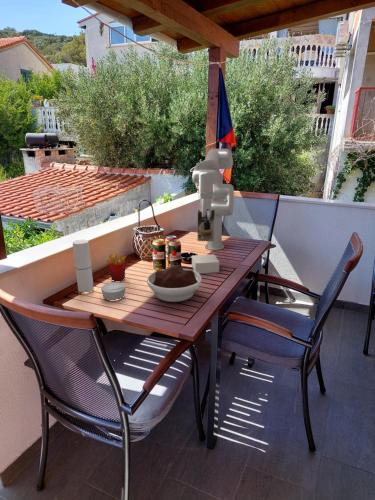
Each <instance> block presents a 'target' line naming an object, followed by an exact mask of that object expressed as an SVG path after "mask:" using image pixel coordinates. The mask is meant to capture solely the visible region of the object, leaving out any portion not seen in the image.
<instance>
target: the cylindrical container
mask: <svg viewBox="0 0 375 500" xmlns="http://www.w3.org/2000/svg"><path fill="white" fill-rule="evenodd" d="M89 242H90V241H89V239H78V240H74V241H72V249H73V259H74V265H75V273H76V280H77V281H76V282H77V291H79V292H90V291H92V290H93V289H94V280H93V279H94V278H93V270H92V262H91V252H90V243H89ZM94 290H95V289H94ZM79 292H78V293H79Z"/></svg>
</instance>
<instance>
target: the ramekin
mask: <svg viewBox="0 0 375 500" xmlns="http://www.w3.org/2000/svg"><path fill="white" fill-rule="evenodd" d="M126 288H127V287H126V284H124V283H123V282H113V281H112V282H108V283H106V284H102V286H101V288H100V291H101V293H102V296H103V299H104V298H105V299H108V300H116V299H120V298H122V297H123V296H124V295H126ZM124 297H125V296H124ZM124 297H123V298H124ZM123 298H122V299H123ZM105 299H104V300H105Z"/></svg>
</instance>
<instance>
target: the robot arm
mask: <svg viewBox="0 0 375 500" xmlns="http://www.w3.org/2000/svg"><path fill="white" fill-rule="evenodd" d="M233 165H234V158H233V154H232V151H231V150H230V149H228V148H211V149H210V150H208V152H207V154H206V157H205V160H202V161H201V162H198V163H197V164H196V165H195V166H194V168H193V170H192V175H191V180H192V182H193V183H194V184H198V199H199V210H200V211H201V212H202V217H204V219H205V222H204V230H210V217H211V210H214V211H215V212H214V241H206V242H207V244H205V245H204V248H205V249H206V250H210V251H219V250H223V249H224V248H225V247H224V246H225V245H224V244H222V243H223V242H222V241H223V240H222V239H223V238H222V237H223V221H222V219H221V217H219V216H222V217H223V216H224V217H231V216H232V215H233V213H234V206H235V205H234V204H235V203H234V201H235V200H234V199H235V188H234V185H232V184H230V183H223V181H224V176H223V174H222V173H221V171H220V170H229V169H231V168H232V167H233ZM212 199H214V200H212ZM215 199H218V200H215ZM219 199H220V200H219ZM224 199H225V200H224ZM206 215H207V216H206ZM205 216H206V217H205Z"/></svg>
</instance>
